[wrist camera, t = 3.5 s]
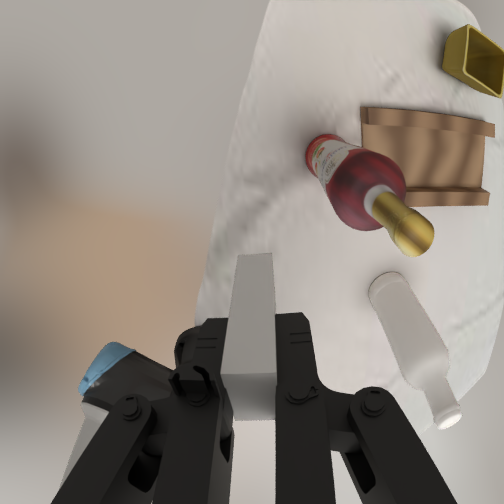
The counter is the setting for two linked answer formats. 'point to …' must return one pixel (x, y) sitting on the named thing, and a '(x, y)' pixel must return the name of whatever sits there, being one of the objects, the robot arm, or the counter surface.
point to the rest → (431, 153)
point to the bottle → (415, 345)
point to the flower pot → (475, 60)
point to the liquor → (368, 192)
